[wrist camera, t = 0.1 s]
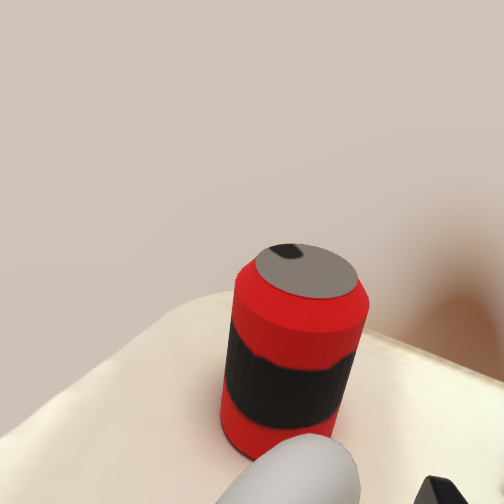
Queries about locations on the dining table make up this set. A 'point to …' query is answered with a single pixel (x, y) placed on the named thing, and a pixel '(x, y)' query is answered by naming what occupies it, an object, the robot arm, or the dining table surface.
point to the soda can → (290, 345)
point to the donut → (298, 475)
